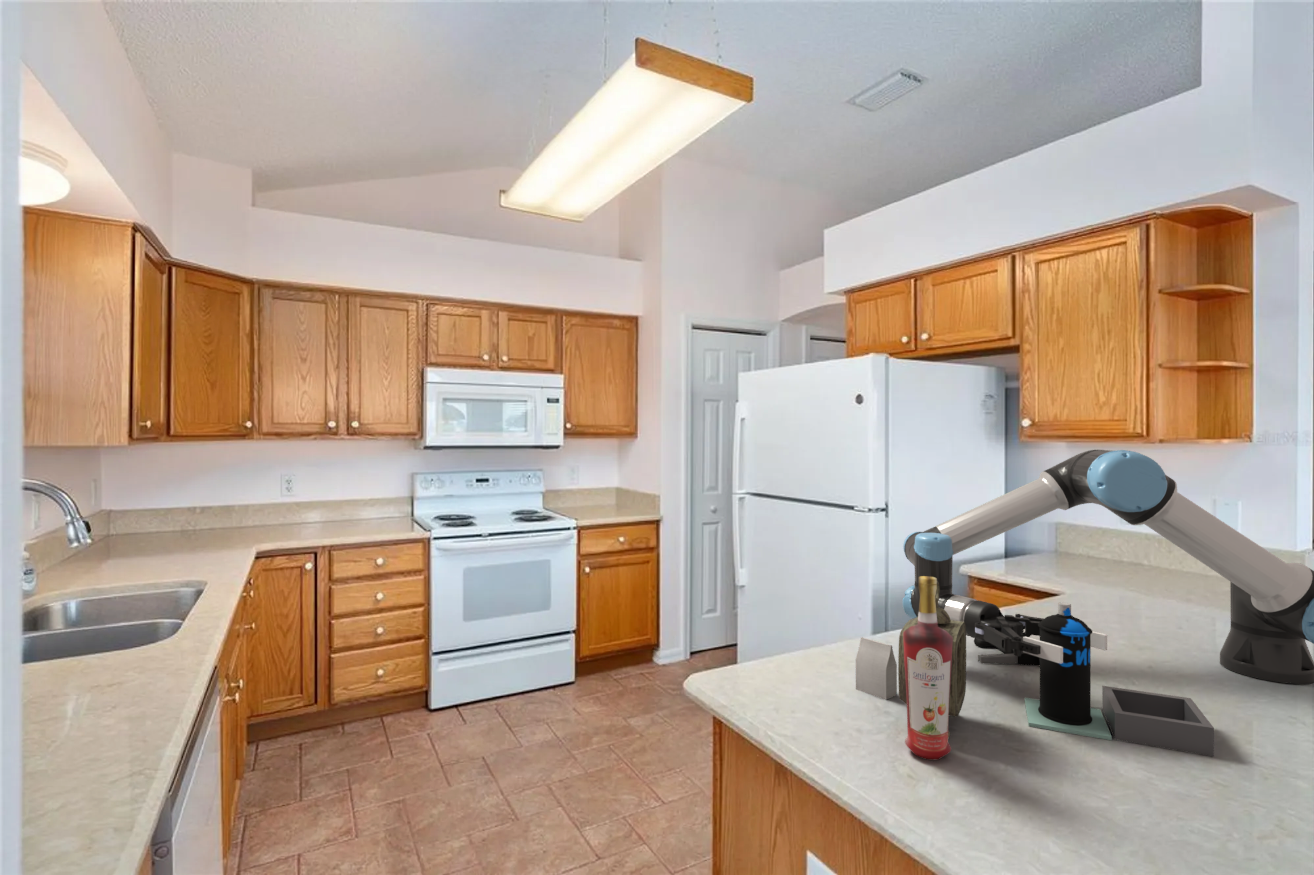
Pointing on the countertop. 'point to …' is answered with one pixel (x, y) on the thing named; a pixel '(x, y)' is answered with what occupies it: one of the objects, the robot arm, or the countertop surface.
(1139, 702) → the grey square tray
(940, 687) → the liquor
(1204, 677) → the countertop surface
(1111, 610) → the countertop surface
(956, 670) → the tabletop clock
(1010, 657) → the door handle
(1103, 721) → the occupied pad
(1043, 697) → the aerosol can
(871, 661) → the tea bag
